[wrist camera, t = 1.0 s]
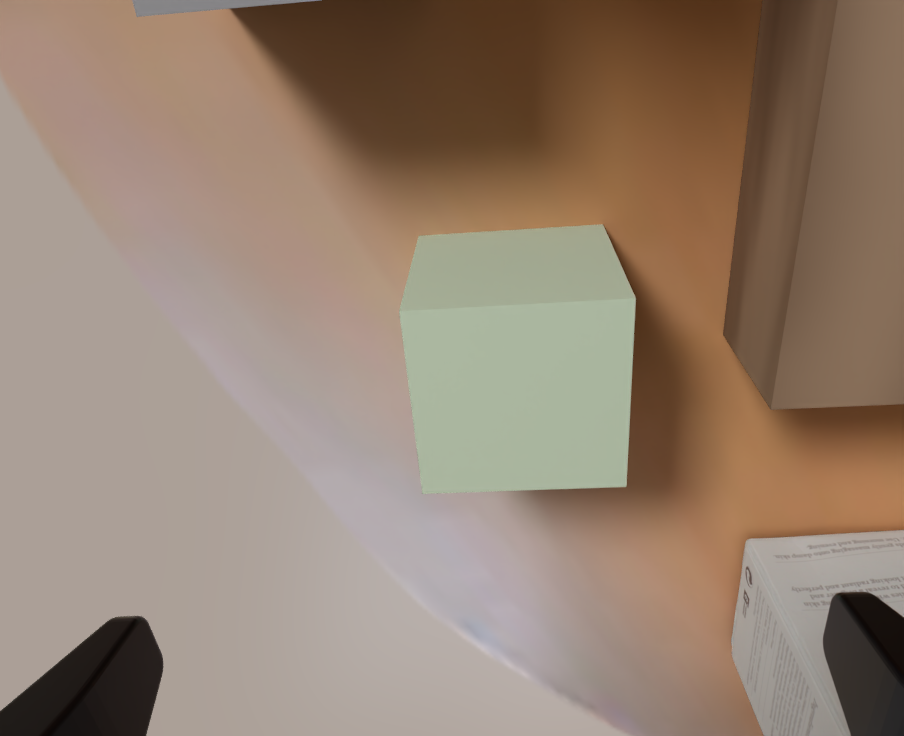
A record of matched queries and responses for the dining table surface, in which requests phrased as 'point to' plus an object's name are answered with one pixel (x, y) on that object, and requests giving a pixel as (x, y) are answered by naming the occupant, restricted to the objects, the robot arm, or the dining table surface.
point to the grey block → (198, 5)
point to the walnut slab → (823, 208)
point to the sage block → (519, 360)
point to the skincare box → (804, 621)
